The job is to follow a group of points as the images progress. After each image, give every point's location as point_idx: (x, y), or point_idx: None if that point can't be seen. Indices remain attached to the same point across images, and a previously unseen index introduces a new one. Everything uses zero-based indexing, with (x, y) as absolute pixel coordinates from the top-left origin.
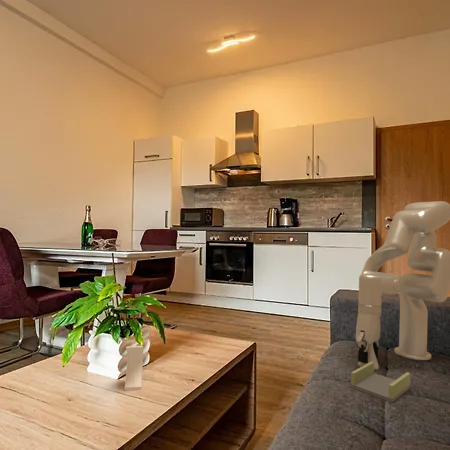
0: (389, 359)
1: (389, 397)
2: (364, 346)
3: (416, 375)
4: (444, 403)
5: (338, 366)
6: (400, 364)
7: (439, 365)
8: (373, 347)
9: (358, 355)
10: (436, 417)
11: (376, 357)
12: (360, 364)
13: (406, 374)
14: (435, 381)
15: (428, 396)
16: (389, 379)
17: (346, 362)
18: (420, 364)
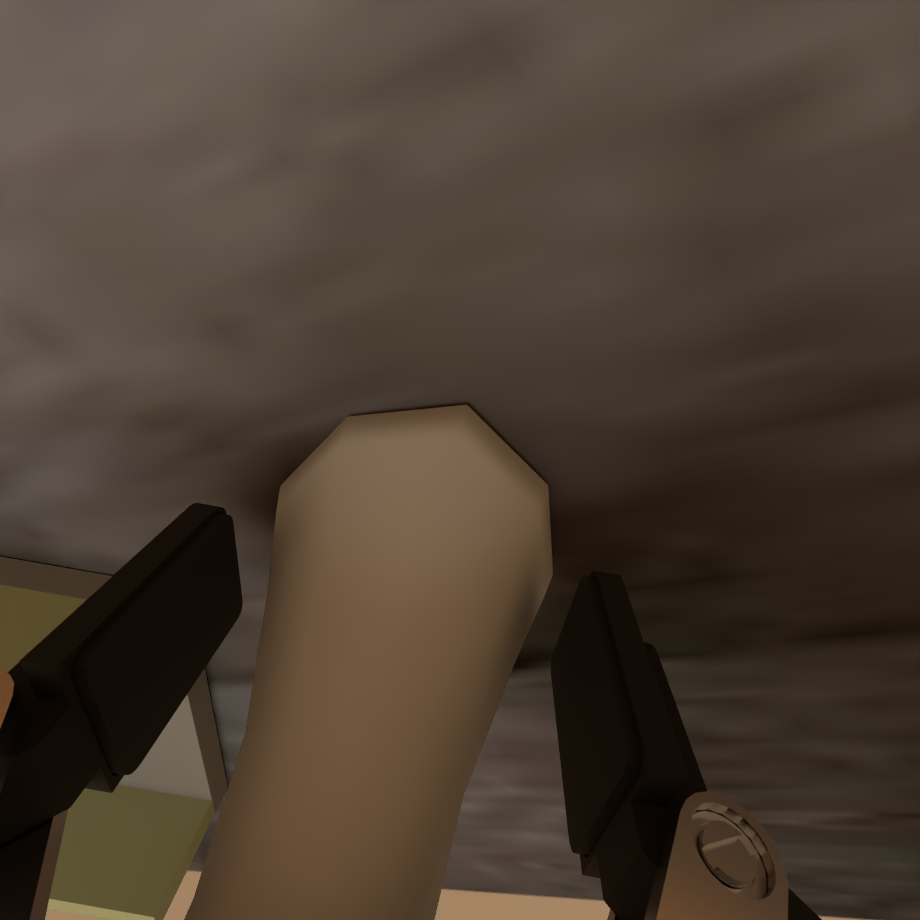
0: (863, 660)
1: None
2: (263, 774)
3: (509, 810)
4: (195, 869)
5: (50, 188)
6: (728, 737)
7: (868, 902)
8: (593, 796)
9: (131, 564)
10: None
11: (554, 664)
12: (298, 482)
13: (99, 912)
14: (479, 867)
15: (207, 836)
16: (167, 731)
17: (335, 235)
18: (825, 832)
